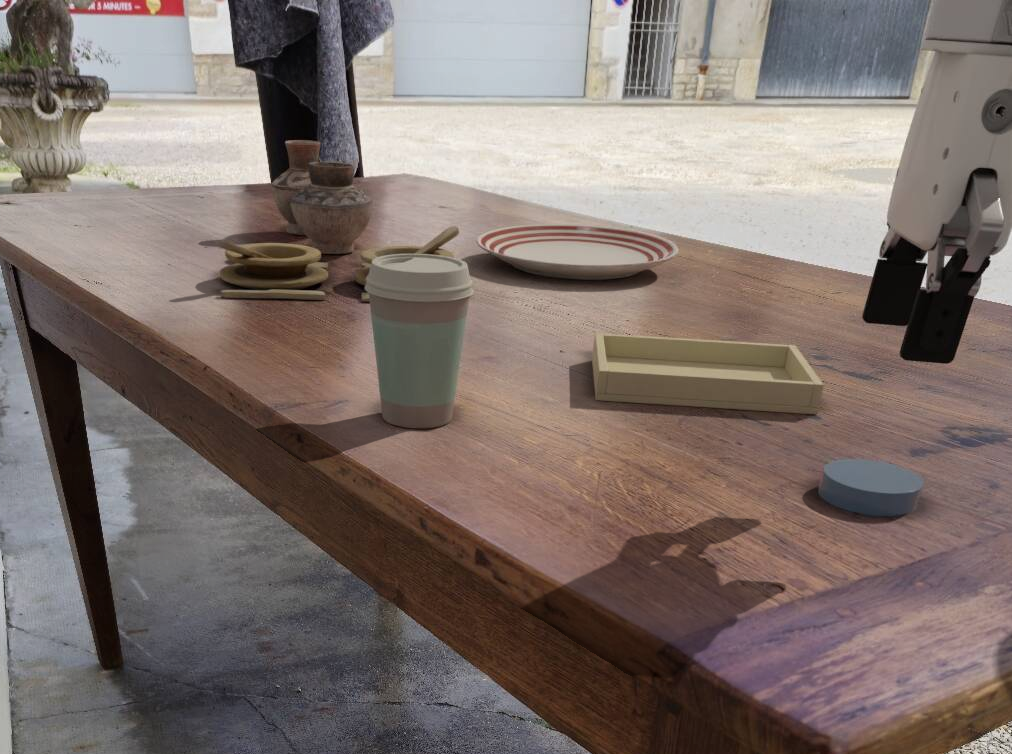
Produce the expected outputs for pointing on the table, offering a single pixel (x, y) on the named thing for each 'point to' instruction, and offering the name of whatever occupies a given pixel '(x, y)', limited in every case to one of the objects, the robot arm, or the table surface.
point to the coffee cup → (418, 334)
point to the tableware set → (301, 267)
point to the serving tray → (704, 374)
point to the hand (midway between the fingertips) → (903, 341)
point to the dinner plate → (577, 250)
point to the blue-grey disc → (870, 487)
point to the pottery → (321, 199)
